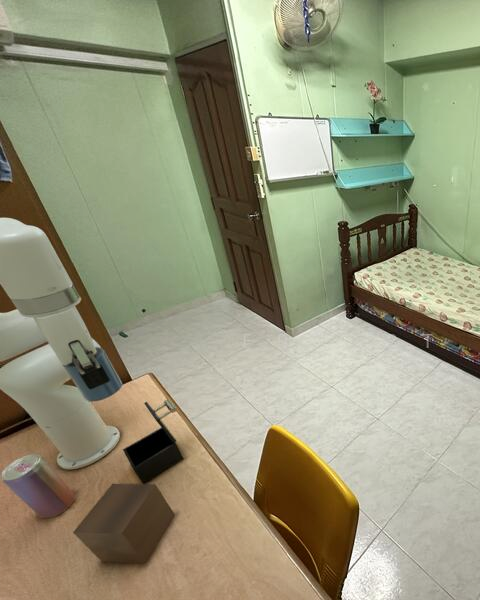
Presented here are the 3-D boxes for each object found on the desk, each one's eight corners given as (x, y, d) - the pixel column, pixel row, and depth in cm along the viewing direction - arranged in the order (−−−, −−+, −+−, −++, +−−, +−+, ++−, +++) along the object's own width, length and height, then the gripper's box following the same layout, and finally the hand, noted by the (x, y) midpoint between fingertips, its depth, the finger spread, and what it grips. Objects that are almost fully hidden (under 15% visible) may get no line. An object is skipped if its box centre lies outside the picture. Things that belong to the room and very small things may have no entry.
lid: (155, 420, 74) (176, 407, 76) (143, 403, 78) (163, 391, 81) (174, 443, 79) (192, 430, 82) (162, 425, 83) (180, 414, 86)
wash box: (143, 485, 76) (133, 469, 73) (133, 465, 81) (122, 449, 78) (184, 458, 83) (175, 443, 79) (172, 441, 87) (163, 425, 84)
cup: (77, 396, 63) (54, 362, 58) (110, 377, 68) (91, 343, 63) (96, 405, 61) (74, 370, 57) (129, 384, 66) (110, 351, 62)
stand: (102, 562, 63) (72, 532, 57) (135, 513, 71) (112, 483, 65) (146, 563, 63) (121, 533, 57) (174, 514, 71) (155, 484, 65)
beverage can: (53, 522, 69) (13, 483, 62) (32, 516, 70) (-9, 477, 63) (82, 495, 74) (49, 456, 67) (62, 489, 75) (27, 450, 68)
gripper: (10, 291, 56) (61, 367, 65) (22, 326, 47) (80, 410, 55) (67, 277, 61) (107, 350, 70) (88, 307, 52) (131, 386, 60)
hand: (95, 376), depth 62 cm, fingers closed on cup, 6 cm apart
